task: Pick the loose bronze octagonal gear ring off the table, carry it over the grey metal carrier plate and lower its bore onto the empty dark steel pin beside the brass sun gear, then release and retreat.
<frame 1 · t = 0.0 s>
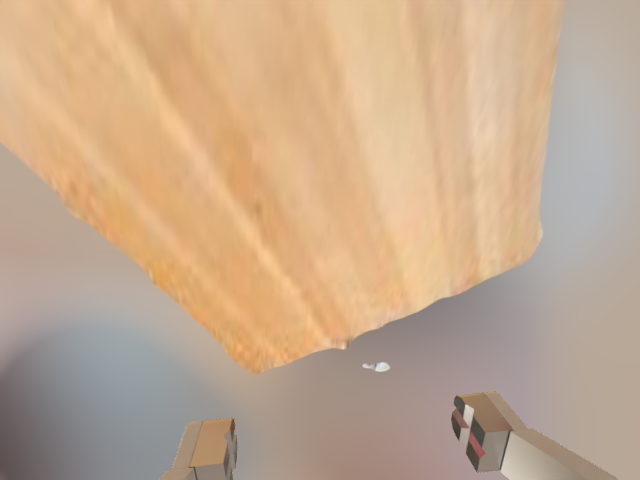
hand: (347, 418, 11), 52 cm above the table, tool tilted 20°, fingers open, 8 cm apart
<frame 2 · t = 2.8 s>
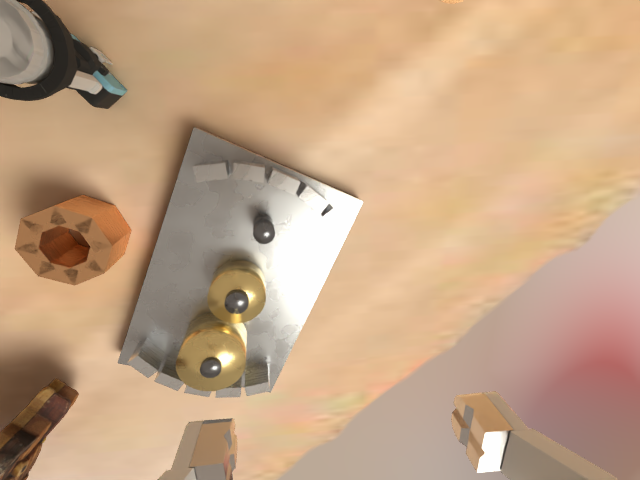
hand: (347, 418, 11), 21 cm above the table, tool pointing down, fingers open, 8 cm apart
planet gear: (91, 231, 27), on the table
carrier: (239, 276, 31), on the table
push button: (88, 64, 23), on the table
wooden carving: (45, 407, 32), on the table
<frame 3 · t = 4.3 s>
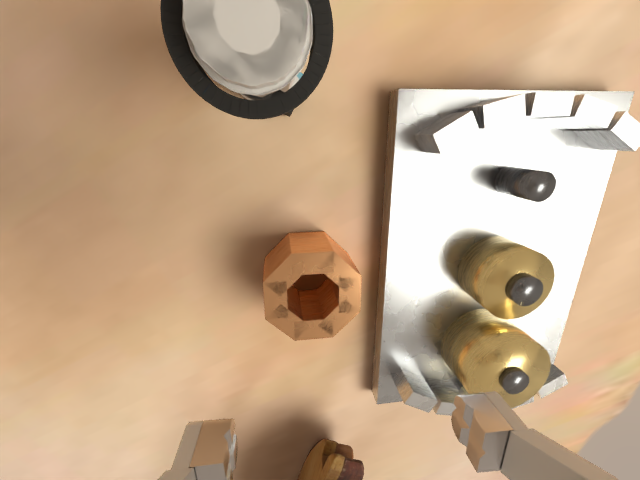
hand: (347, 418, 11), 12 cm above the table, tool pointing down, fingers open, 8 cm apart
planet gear: (307, 270, 23), on the table
carrier: (476, 260, 24), on the table
push button: (252, 72, 18), on the table
wooden carving: (311, 467, 30), on the table
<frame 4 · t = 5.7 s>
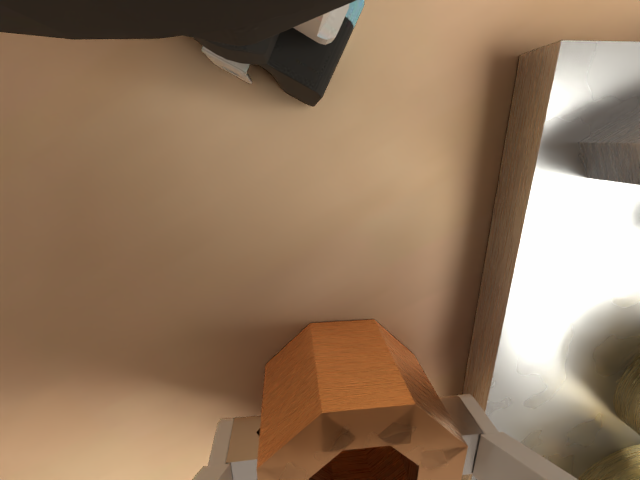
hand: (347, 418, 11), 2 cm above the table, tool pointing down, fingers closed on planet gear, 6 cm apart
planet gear: (340, 383, 13), on the table, touching gripper
carrier: (631, 356, 14), on the table
push button: (234, 12, 8), on the table
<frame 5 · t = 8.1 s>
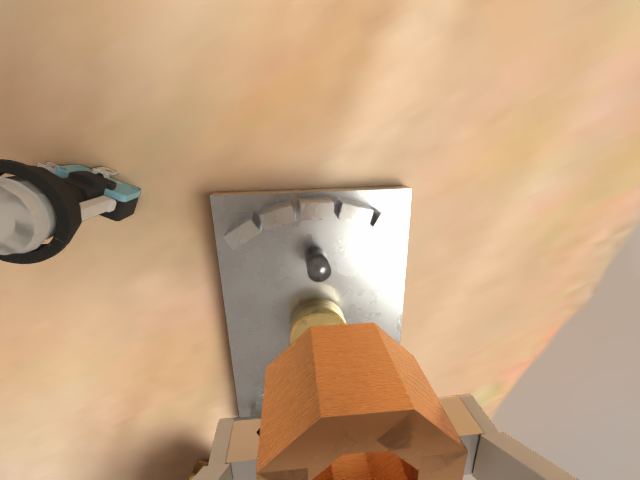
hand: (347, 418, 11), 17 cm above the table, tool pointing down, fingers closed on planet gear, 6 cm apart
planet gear: (341, 386, 13), point 16 cm above the table, touching gripper
carrier: (315, 314, 29), on the table
push button: (100, 183, 24), on the table
when the fingers open (5 cm above the table, at t = 10.5 s): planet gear drops 2 cm, resting on carrier.
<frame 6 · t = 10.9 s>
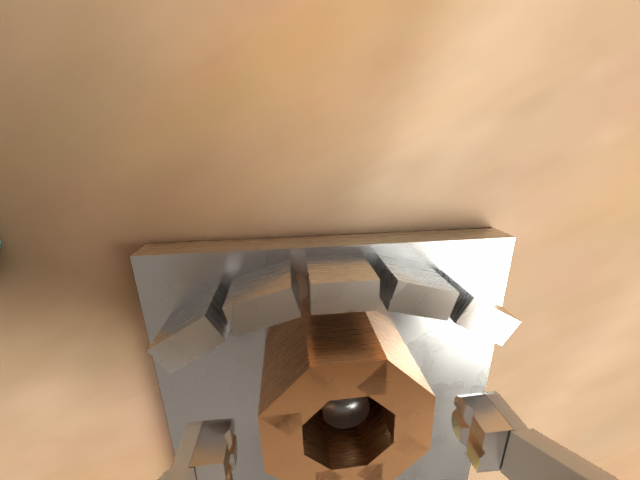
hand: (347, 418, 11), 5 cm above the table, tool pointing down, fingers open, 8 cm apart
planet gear: (332, 356, 14), point 1 cm above the table, touching carrier
carrier: (330, 431, 18), on the table
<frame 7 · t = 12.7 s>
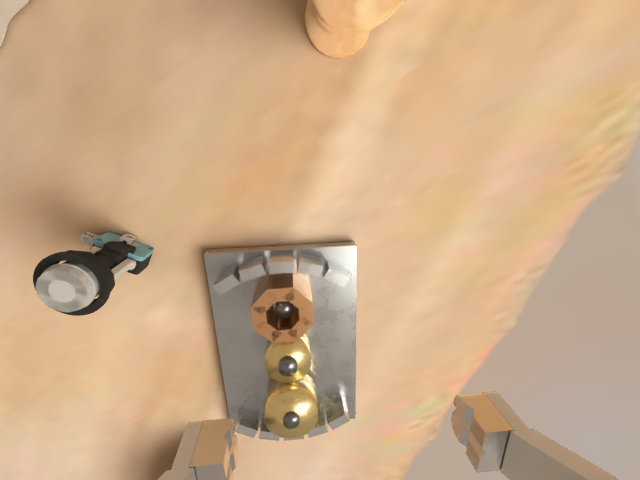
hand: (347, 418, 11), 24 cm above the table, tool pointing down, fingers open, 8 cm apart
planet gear: (284, 296, 34), point 1 cm above the table, touching carrier
carrier: (288, 338, 37), on the table
beer glass: (338, 21, 28), on the table
push button: (124, 244, 32), on the table
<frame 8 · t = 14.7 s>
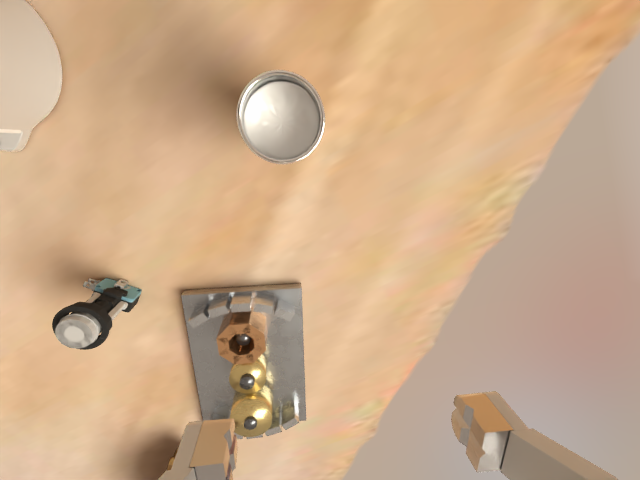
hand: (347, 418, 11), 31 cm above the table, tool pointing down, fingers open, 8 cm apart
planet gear: (245, 326, 43), point 1 cm above the table, touching carrier
carrier: (251, 357, 47), on the table
beer glass: (282, 126, 37), on the table
push button: (118, 286, 41), on the table
wooden carving: (181, 464, 52), on the table
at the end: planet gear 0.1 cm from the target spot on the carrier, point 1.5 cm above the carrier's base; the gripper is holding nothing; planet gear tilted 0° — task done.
